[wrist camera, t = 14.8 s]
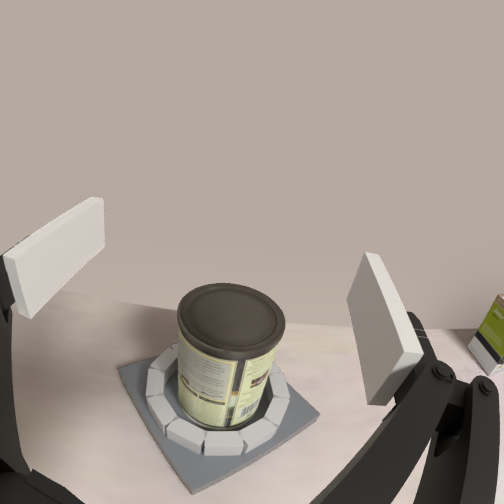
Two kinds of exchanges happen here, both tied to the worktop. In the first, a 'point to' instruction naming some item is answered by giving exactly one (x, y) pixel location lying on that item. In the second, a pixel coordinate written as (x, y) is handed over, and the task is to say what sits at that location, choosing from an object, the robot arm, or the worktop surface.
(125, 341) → the worktop surface
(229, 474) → the housing
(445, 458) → the robot arm
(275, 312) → the coffee can
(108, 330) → the worktop surface
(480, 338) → the tea box
